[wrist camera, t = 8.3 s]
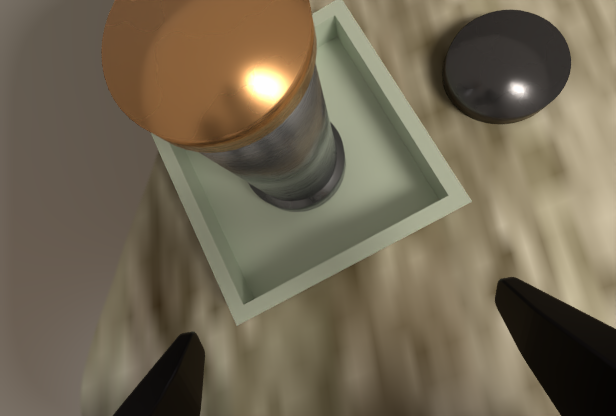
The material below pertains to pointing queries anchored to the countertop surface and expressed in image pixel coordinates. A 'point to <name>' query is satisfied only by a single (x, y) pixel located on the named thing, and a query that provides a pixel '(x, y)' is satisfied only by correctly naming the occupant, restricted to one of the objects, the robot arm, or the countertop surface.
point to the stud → (506, 66)
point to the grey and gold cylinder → (230, 90)
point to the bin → (342, 205)
